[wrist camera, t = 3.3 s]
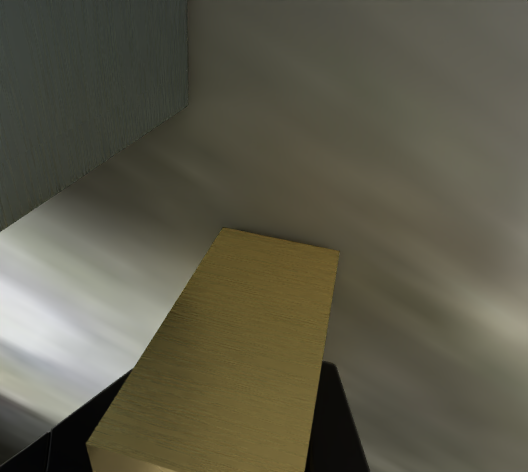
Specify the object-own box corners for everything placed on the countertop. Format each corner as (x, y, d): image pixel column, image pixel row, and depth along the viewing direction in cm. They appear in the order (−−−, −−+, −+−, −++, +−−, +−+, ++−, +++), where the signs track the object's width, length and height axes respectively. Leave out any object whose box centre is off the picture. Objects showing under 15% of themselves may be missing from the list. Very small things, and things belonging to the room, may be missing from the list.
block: (305, 402, 11) (261, 647, 7) (217, 378, 12) (127, 599, 8) (339, 251, 9) (297, 507, 4) (222, 227, 9) (85, 444, 5)
